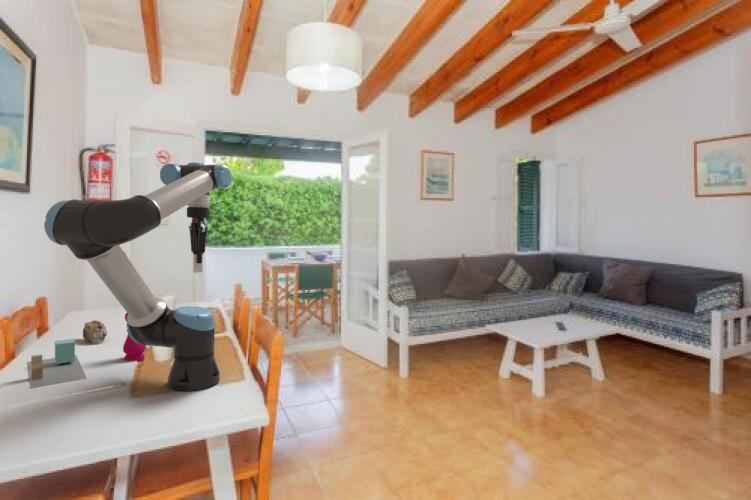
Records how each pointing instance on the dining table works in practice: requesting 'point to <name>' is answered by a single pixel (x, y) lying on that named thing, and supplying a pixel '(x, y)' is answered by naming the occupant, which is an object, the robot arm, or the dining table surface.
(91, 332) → the rock
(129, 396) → the dining table surface
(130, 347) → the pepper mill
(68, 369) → the stand
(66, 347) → the mint green foam cube
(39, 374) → the post beech
